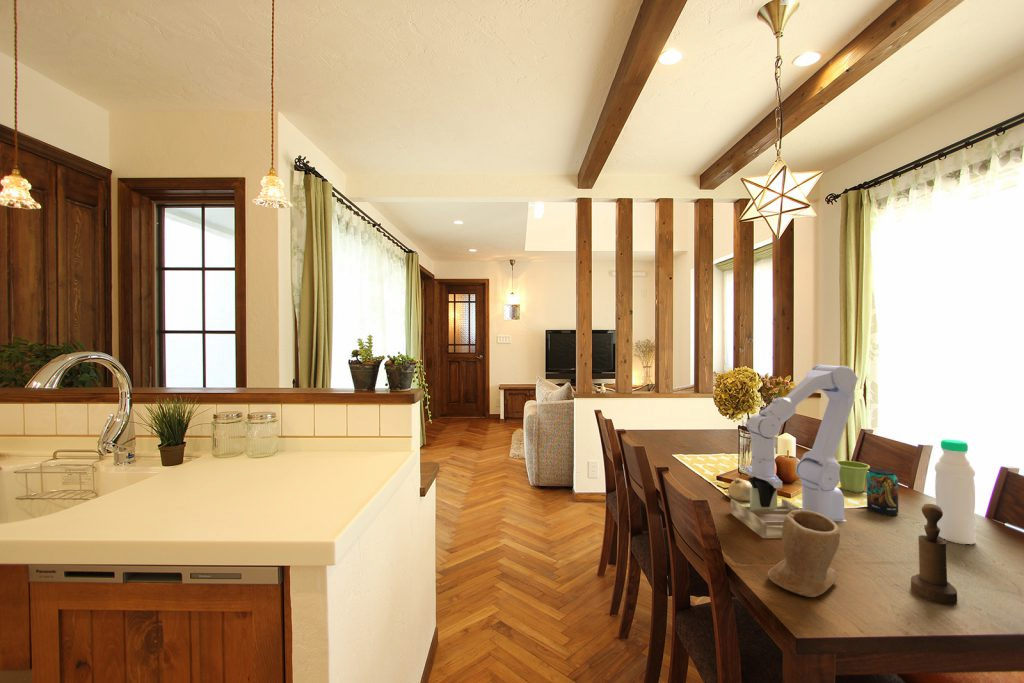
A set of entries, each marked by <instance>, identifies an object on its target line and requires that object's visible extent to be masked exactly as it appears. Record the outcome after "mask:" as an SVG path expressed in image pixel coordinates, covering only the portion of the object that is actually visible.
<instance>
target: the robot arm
mask: <svg viewBox="0 0 1024 683" xmlns="http://www.w3.org/2000/svg"><path fill="white" fill-rule="evenodd" d="M858 380H859V378H858V377H857V375H856V373H855V371H854V370H853V369H852V367H850V366H847V365H829V364H827V365H825V364H820V363H819V364H816V365H814V366H813V367H812V368H811V369H810V370H808V371H807V372H806V376H805V377H804V378H803V379H802V380H801V381H800V382H799V383H798V384H797V385H796V386H795V387H794V388H793V389H792V390H791V391H790V392H789V393H788V394H787V395H786V396H785V397H783V396H782V397H777V398H776V397H775V398H773V399H772V400H771V403H770V404H769V405H768V406H767V407H765V408H764V409H762V410H761V411H759V414H754V415H752V416H751V417H750V418H749V419H748V422H747V423H746V424H745V426H746V428H747V431H748V432H749V434H750V444H751V446H750V447H751V448H750V449H751V452H750V455H751V465H746V466H745V473H747V476H750V477H749V478H748V481H749V482H750V483H751V485H752V487H753V488H758V491H759V497H760V504H761V506H762V507H770V504H771V500H772V497H773V494H774V492H775V491H776V489H777V490H778V489H783V481H782V480H781V479H780V478H779V476H777V474H775V473H776V472H775V470H776V469H775V465H776V463H775V462H776V460H775V459H776V458H775V451H776V450H775V437H776V436H778V435H779V433H780V430H781V427H782V426H783V424H784V423H785V422H786V421H787V420H789V418H791V417H792V416H793V415H795V414H796V411H797V406H798V405H799V404H800V403H802V402H803V401H805V400H806V399H807V398H809V397H810V396H812V395H813V394H814V393H815V392H817V391H818V390H820V391H822V392H823V393H824V394H825V395H826V397H827V398H828V401H827V404H826V408H825V411H824V412H823V417H822V419H821V422H820V425H819V428H818V430H817V433H816V437H815V440H814V443H813V445H812V447H811V449H810V450H808V451H806V452H804V453H803V455H802V457H801V459H800V460H799V461H798V462H797V463H796V465H795V473H796V476H797V477H798V478H799V479H800V483H801V500H802V502H801V504H802V505H801V509H803V510H809V511H813V512H817V513H819V514H822V515H824V516H826V517H828V518H829V519H831V520H832V521H833V522H847V520H846V519H845V496H844V494H843V492H842V490H841V489H840V488H838V487H837V486H838V485H840V476H839V471H840V468H841V467H840V465H839V463H838V462H837V461H838V460H837V459H836V455H837V452H838V449H839V446H840V442H841V440H842V439H843V438H842V437H843V434H844V431H845V428H846V425H847V424H848V423H847V422H848V421H849V420H848V419H849V417H850V413H851V411H852V407H853V405H854V402H855V398H856V396H855V395H856V394H855V388H856V385H857V382H858Z"/></svg>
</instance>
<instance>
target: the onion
mask: <svg viewBox="0 0 1024 683" xmlns="http://www.w3.org/2000/svg"><path fill="white" fill-rule="evenodd" d="M750 488H753V487H752V485H751V483H750V482H749V480H746V479H742V478H739V477H737V478H735V479H733V481H731V483H729V485H728V488H727V489H728V490H727V492H728V494H729V496H730V497H731V499H734V500H735V501H738V502H739V501H740V502H750Z"/></svg>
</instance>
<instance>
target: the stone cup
mask: <svg viewBox="0 0 1024 683" xmlns="http://www.w3.org/2000/svg"><path fill="white" fill-rule="evenodd" d="M840 537H841V531H840V529H839V526H838V525H837V523H836V522H835V521H832V520H831V519H829V518H828V517H826V516H824V515H822V514H819V513H817V512H813V511H809V510H793V511H791V512H789V513H788V514H787V515H786V517H785V519H784V522H783V528H782V538H781V544H782V548H783V551H784V554H785V556H784V558H783V559H782V560H780V561H778V563H776V564H774V565H773V566H772V567H771V568H770V569H769V570H768V572H767V577H768V579H769V580H770V581H772V583H774V584H775V585H777V586H779V587H780V588H782V589H784V590H786V591H789V592H791V593H794V594H796V595H800V596H803V597H804V596H805V597H808V598H816V597H818V596H821V595H822V594H824V593H826V591H828V589H829V588H831V586H832V585H833V584H834V583H835V582H836V581H837V580H838V579H839V577H840V575H839V574H838V572H837V571H836V570H835V569H833V568H832V567H830V565H831V563H832V561H833V559H834V557H835V555H836V554H837V551H838V549H839V545H840Z"/></svg>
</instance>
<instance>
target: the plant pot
mask: <svg viewBox="0 0 1024 683" xmlns="http://www.w3.org/2000/svg"><path fill="white" fill-rule="evenodd" d="M837 462H838V463H839V465H840V467H841V468H840V471H839V476H840V481H839V485H840V488H841V489H842V490H844V489H845V490H844V491H850V492H852V491H853V492H852V493H862V492H864V491H865V487H866V481H867V474H868V473H869V469H871V468H870V467H871V466H870V465H869V464H867V463H863V462H858V461H851V460H837Z"/></svg>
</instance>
